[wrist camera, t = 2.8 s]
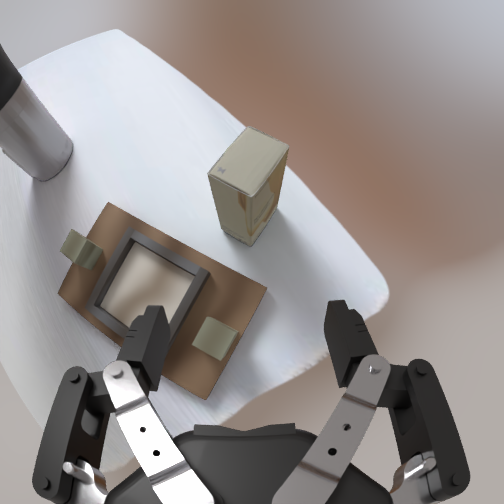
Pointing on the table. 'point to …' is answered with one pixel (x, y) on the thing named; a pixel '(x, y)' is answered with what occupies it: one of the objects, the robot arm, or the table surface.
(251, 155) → the skincare box
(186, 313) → the build base
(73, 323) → the table surface
